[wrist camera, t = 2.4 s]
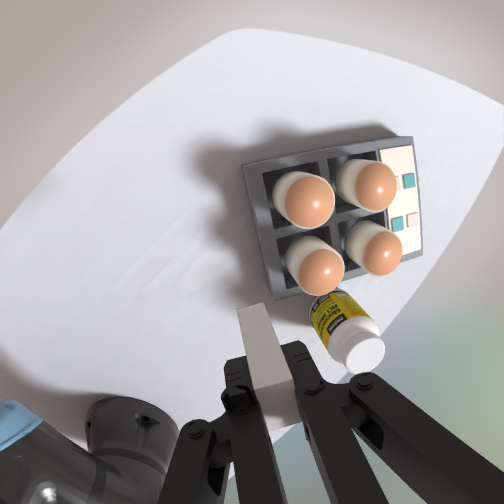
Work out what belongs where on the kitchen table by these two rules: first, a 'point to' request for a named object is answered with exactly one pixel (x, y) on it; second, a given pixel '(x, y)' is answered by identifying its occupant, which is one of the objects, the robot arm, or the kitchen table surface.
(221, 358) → the kitchen table surface
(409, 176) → the board
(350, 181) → the button
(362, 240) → the button
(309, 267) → the button
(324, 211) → the button
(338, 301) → the pill bottle
